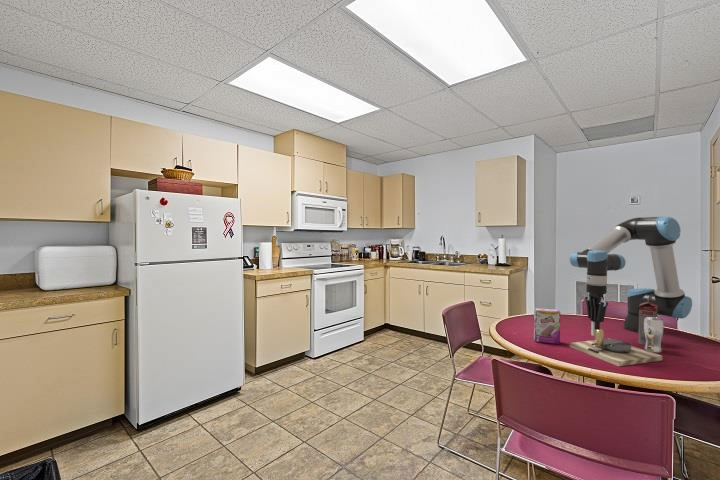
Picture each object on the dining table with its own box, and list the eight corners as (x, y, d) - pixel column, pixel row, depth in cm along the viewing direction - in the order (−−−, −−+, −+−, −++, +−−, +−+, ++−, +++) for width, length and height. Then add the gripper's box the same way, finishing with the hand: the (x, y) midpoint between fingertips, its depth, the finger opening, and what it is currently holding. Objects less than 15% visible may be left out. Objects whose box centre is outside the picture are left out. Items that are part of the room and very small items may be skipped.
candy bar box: (535, 342, 170) (535, 310, 169) (533, 339, 175) (533, 307, 174) (560, 344, 166) (560, 311, 166) (558, 341, 171) (558, 309, 170)
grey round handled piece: (612, 342, 162) (612, 323, 161) (638, 351, 150) (638, 331, 150) (580, 346, 157) (580, 326, 157) (604, 355, 146) (604, 334, 145)
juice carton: (638, 343, 167) (639, 299, 166) (639, 340, 172) (640, 297, 171) (656, 346, 162) (657, 301, 162) (656, 343, 167) (657, 299, 167)
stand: (609, 342, 169) (609, 337, 169) (662, 360, 146) (662, 354, 145) (569, 347, 163) (569, 341, 163) (618, 366, 140) (618, 359, 140)
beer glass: (666, 353, 153) (667, 320, 153) (649, 352, 155) (649, 320, 154) (656, 348, 160) (657, 316, 160) (639, 347, 162) (640, 316, 161)
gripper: (579, 282, 160) (578, 331, 161) (597, 286, 147) (595, 340, 148) (596, 282, 160) (594, 331, 161) (614, 286, 147) (613, 340, 148)
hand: (595, 335), depth 154 cm, fingers closed
